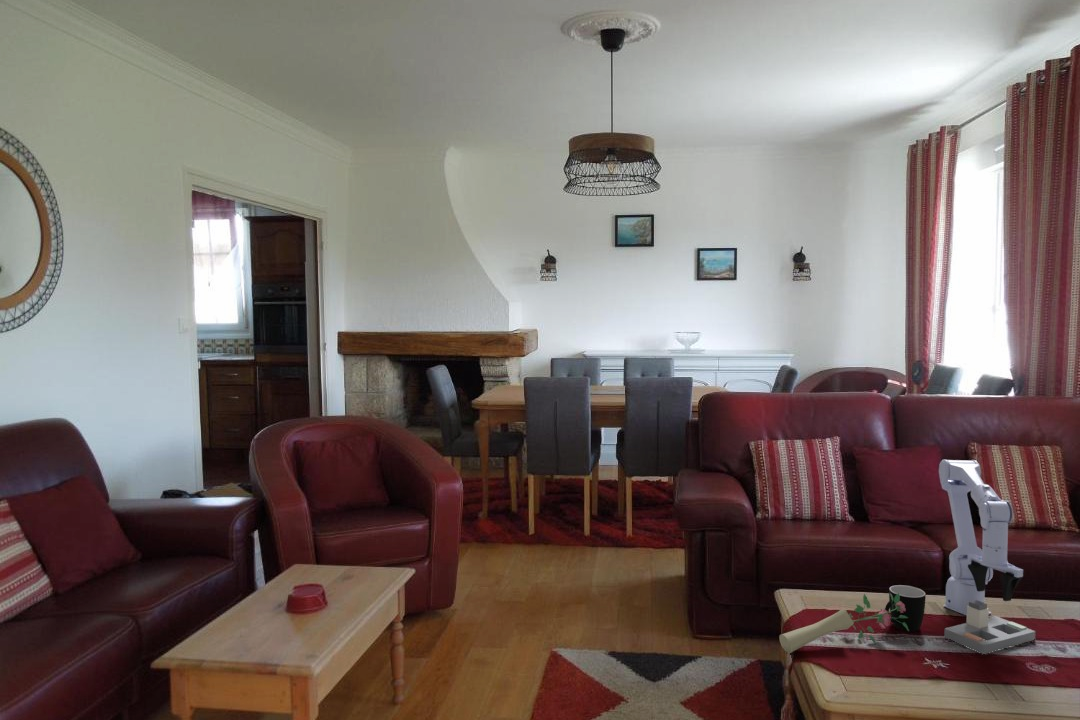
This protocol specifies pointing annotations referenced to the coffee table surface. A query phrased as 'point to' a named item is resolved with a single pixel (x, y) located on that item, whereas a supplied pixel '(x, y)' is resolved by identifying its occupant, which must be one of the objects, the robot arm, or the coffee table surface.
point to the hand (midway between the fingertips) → (993, 595)
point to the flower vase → (836, 625)
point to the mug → (907, 607)
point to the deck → (990, 635)
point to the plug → (977, 614)
